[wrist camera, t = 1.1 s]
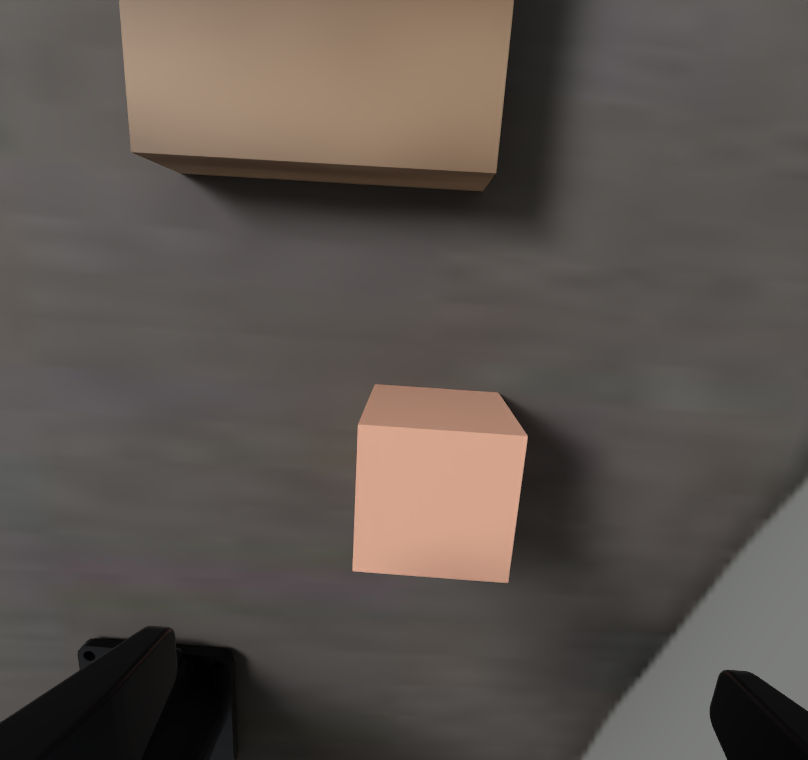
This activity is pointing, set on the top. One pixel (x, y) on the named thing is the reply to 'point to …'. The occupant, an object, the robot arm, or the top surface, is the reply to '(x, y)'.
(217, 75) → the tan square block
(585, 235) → the top surface
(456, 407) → the salmon pink cube
